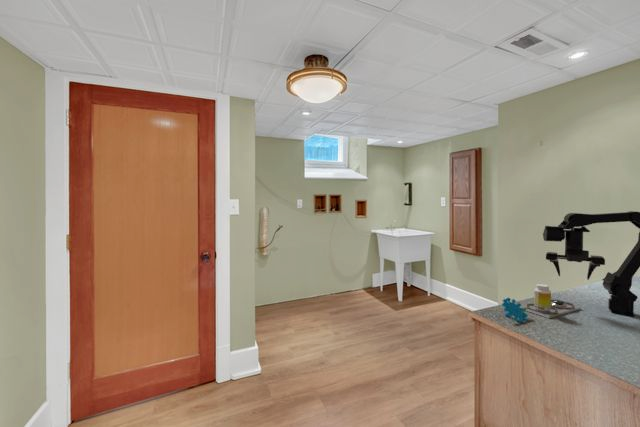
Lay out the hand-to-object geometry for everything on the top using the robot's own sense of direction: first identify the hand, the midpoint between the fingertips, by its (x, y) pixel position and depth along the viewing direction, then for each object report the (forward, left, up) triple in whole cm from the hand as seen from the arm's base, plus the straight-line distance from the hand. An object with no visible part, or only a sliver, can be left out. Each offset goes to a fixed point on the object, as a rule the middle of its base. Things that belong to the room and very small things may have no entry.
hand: (573, 277), depth 122 cm
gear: (+18, +29, -13) cm, 37 cm away
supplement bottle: (+10, +14, -12) cm, 21 cm away
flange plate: (+7, +9, -13) cm, 17 cm away
